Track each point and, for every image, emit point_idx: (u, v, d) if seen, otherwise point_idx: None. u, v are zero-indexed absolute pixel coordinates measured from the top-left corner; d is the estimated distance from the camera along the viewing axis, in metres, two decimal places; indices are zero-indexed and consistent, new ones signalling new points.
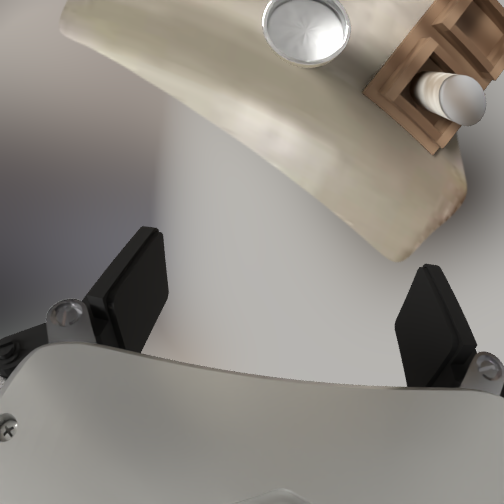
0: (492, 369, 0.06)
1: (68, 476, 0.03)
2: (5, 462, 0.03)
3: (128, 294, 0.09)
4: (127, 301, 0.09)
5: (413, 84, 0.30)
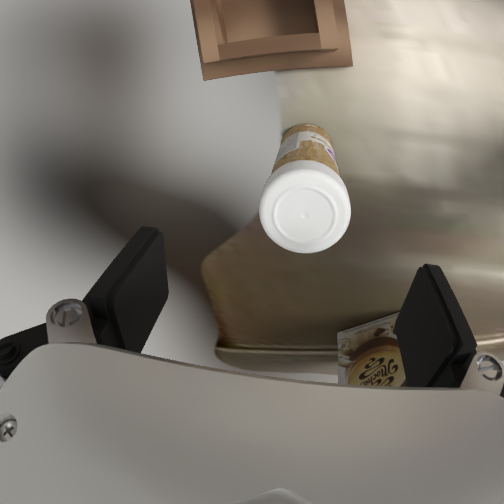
0: (492, 369, 0.06)
1: (68, 476, 0.03)
2: (5, 462, 0.03)
3: (128, 294, 0.09)
4: (127, 301, 0.09)
5: None
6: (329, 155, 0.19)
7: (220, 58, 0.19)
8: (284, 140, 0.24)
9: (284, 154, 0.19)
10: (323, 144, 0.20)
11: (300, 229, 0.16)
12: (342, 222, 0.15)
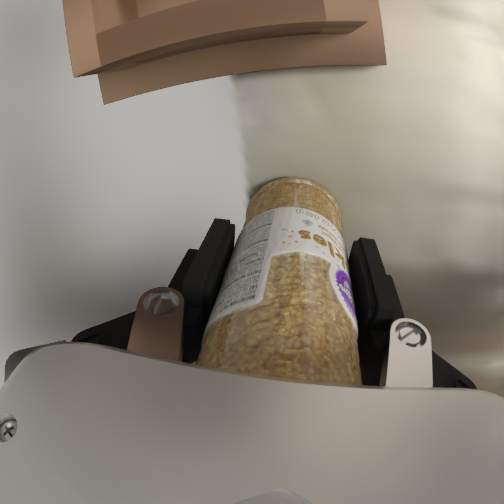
0: (414, 334, 0.08)
1: (68, 476, 0.03)
2: (5, 462, 0.03)
3: (216, 282, 0.09)
4: (215, 289, 0.09)
5: None
6: (340, 306, 0.08)
7: (101, 62, 0.08)
8: (248, 218, 0.13)
9: (225, 313, 0.08)
10: (326, 258, 0.09)
11: None
12: None
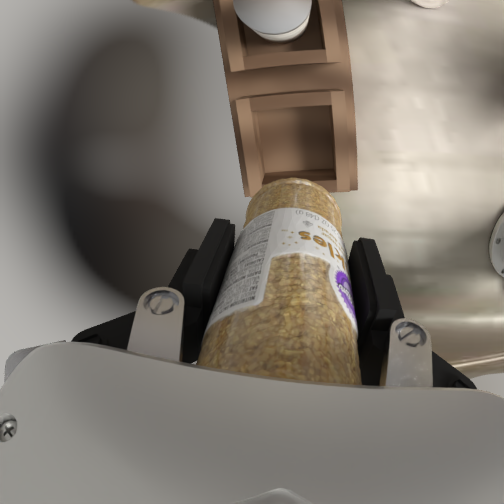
0: (414, 334, 0.08)
1: (68, 476, 0.03)
2: (5, 462, 0.03)
3: (216, 282, 0.09)
4: (215, 289, 0.09)
5: None
6: (340, 307, 0.08)
7: None
8: (248, 219, 0.13)
9: (226, 314, 0.08)
10: (326, 259, 0.09)
11: None
12: None
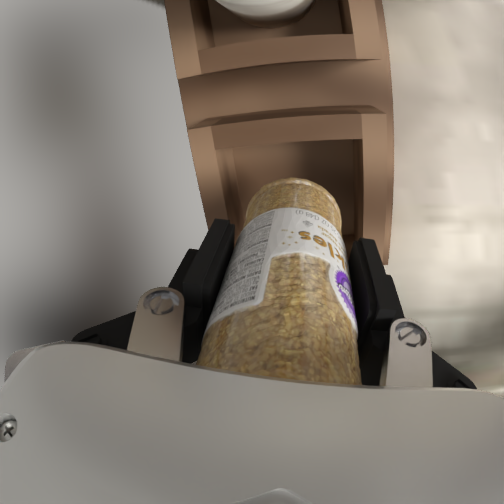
0: (414, 334, 0.08)
1: (68, 476, 0.03)
2: (5, 462, 0.03)
3: (216, 282, 0.09)
4: (215, 289, 0.09)
5: None
6: (340, 307, 0.08)
7: None
8: (248, 219, 0.13)
9: (226, 314, 0.08)
10: (326, 259, 0.09)
11: None
12: None
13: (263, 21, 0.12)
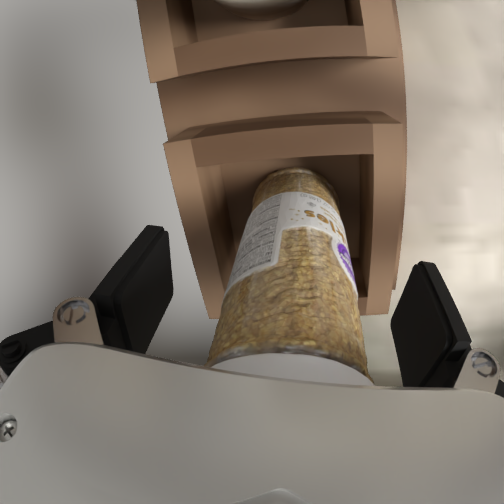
0: (487, 365, 0.06)
1: (68, 476, 0.03)
2: (5, 462, 0.03)
3: (135, 292, 0.09)
4: (133, 299, 0.09)
5: None
6: (342, 270, 0.09)
7: None
8: (256, 203, 0.14)
9: (245, 275, 0.09)
10: (329, 233, 0.10)
11: None
12: None
13: (253, 11, 0.10)
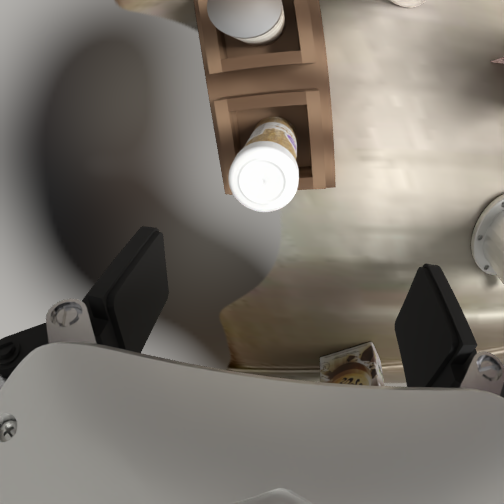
0: (492, 369, 0.06)
1: (68, 476, 0.03)
2: (5, 462, 0.03)
3: (128, 294, 0.09)
4: (127, 301, 0.09)
5: None
6: (287, 139, 0.24)
7: None
8: None
9: (251, 139, 0.24)
10: (284, 131, 0.25)
11: (259, 192, 0.21)
12: (291, 186, 0.20)
13: (254, 44, 0.24)
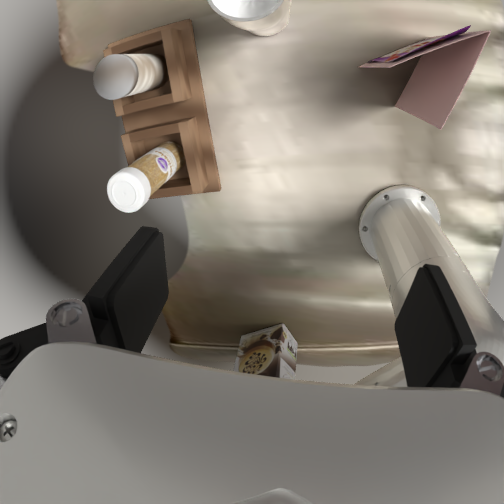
0: (492, 369, 0.06)
1: (68, 476, 0.03)
2: (5, 462, 0.03)
3: (128, 294, 0.09)
4: (127, 301, 0.09)
5: (163, 60, 0.34)
6: (155, 161, 0.34)
7: None
8: None
9: (132, 163, 0.34)
10: (158, 155, 0.36)
11: (123, 200, 0.31)
12: (140, 195, 0.31)
13: None
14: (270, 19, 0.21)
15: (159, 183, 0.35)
